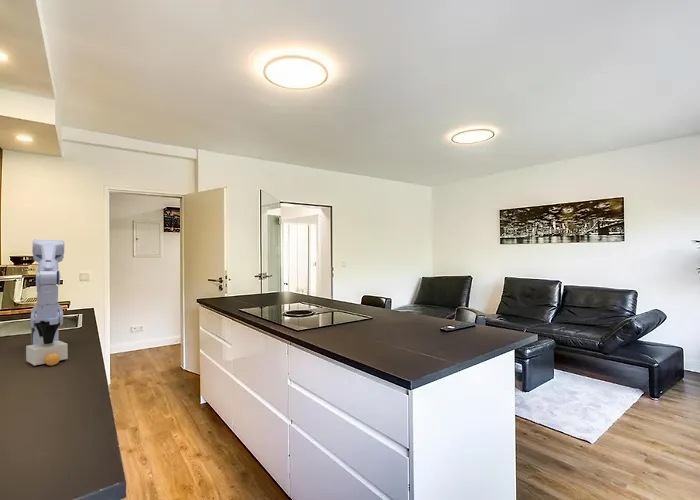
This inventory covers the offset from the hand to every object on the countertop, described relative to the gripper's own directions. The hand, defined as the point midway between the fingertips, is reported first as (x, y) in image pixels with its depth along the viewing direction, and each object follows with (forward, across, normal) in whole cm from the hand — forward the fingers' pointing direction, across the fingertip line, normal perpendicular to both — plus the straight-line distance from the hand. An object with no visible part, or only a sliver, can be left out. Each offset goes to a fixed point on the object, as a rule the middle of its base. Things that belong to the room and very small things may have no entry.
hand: (46, 342), depth 126 cm
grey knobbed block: (+6, 0, 0) cm, 6 cm away
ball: (+5, +7, 0) cm, 8 cm away
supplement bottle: (+7, -33, +7) cm, 35 cm away
